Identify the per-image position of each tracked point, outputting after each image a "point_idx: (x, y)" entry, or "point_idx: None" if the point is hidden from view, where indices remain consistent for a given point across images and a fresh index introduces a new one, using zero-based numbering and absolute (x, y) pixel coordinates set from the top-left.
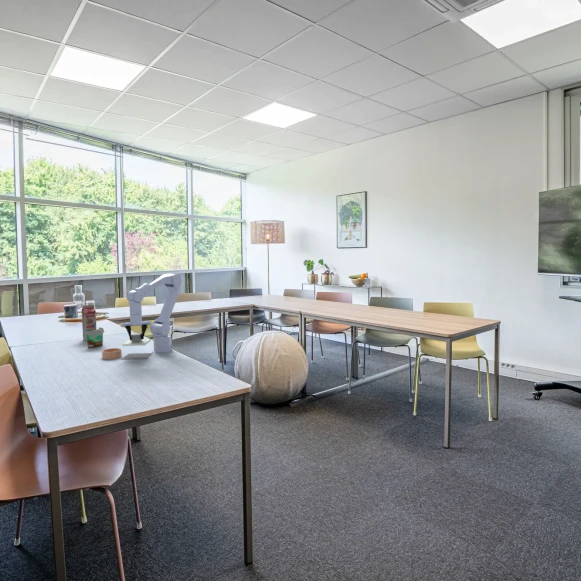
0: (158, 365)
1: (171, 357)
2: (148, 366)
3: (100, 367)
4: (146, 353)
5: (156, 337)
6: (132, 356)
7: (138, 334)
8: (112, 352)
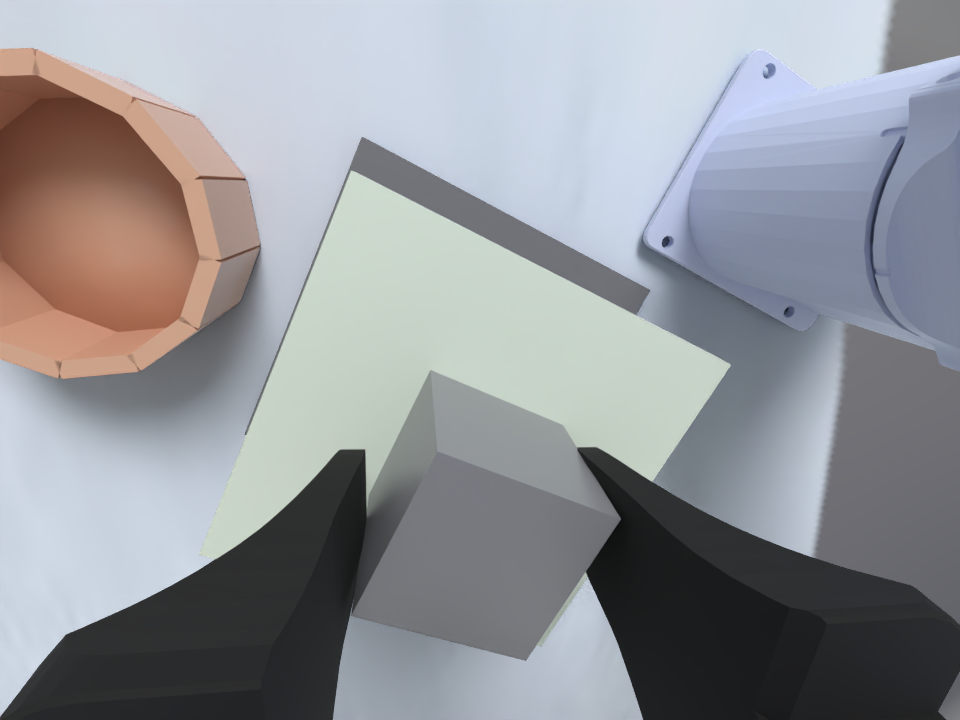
0: (552, 688)
1: (731, 509)
2: (478, 689)
3: (51, 591)
4: (574, 268)
5: (871, 301)
6: None
7: (518, 618)
8: (89, 375)
